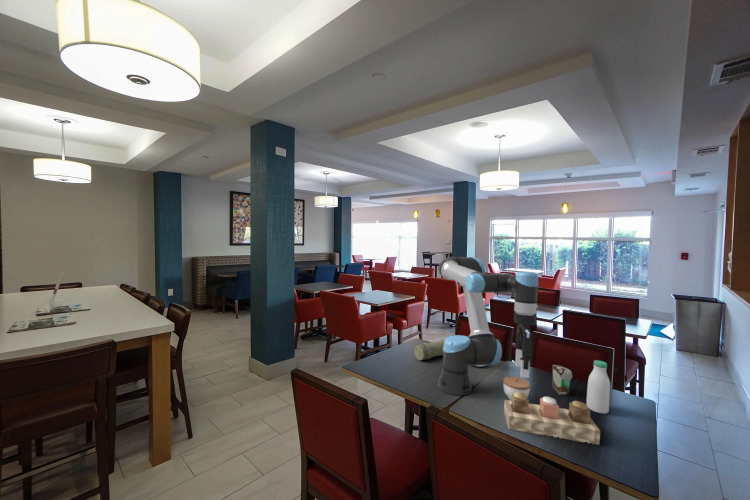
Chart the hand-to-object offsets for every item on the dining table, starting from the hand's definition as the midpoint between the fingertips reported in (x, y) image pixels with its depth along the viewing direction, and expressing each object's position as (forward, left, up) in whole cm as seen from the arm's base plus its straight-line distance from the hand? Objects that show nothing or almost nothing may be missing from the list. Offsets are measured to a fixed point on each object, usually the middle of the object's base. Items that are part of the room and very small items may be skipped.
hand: (521, 371), depth 120 cm
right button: (+20, 0, -15) cm, 25 cm away
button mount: (+10, 0, -20) cm, 22 cm away
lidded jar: (+2, +19, -20) cm, 28 cm away
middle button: (+10, 0, -15) cm, 18 cm away
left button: (0, 0, -15) cm, 15 cm away
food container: (+25, +34, -20) cm, 47 cm away
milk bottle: (+34, +21, -20) cm, 45 cm away
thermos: (-44, +48, -15) cm, 67 cm away
